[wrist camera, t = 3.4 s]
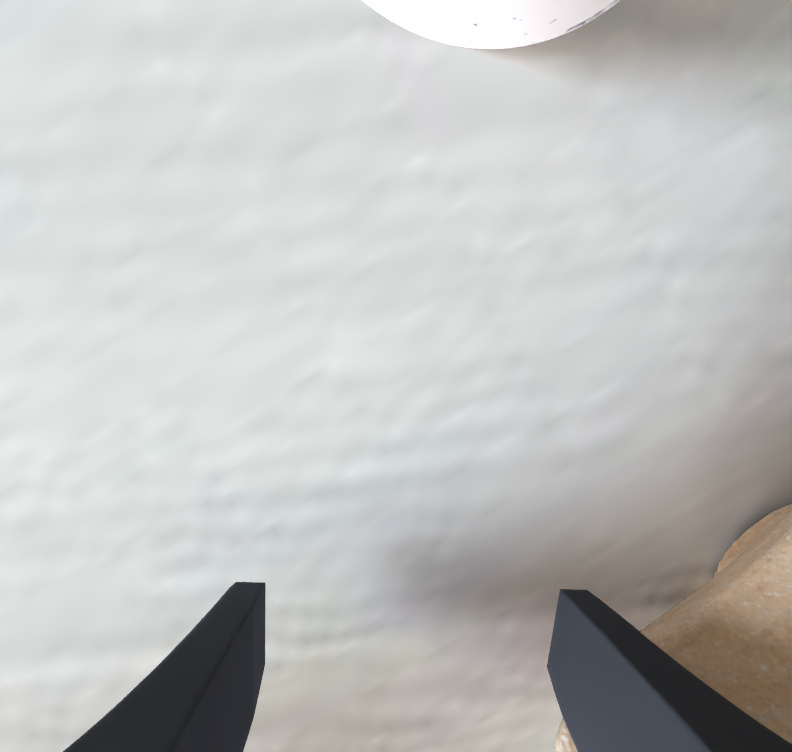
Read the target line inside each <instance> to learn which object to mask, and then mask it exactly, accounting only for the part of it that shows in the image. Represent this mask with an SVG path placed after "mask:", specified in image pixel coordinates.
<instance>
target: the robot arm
mask: <svg viewBox="0 0 792 752" xmlns="http://www.w3.org/2000/svg"><path fill="white" fill-rule="evenodd" d="M264 666H265V583H253V582H236V583H235V584H233V585H232V586H231V587H230V588H229V589H228V590H227V592H226V593H225V594H224V595H223V596H222V597H221V598H220V600H219V601H218V602H217V603H216V604H215V605H214V606H213V608H212V609H211V610H210V611H209V612H208V613H207V614H206V615H205V617H204V618H203V619H202V620H201V621H200V622H199V623H198V624H197V625H196V626H195V627H194V629H193V630H192V631H191V632H190V633H189V634H188V635H187V636H186V637H185V638H184V639H183V640H182V641H181V642H180V643H179V644H178V645H177V646H176V648H175V649H174V650H173V651H172V652H171V653H170V654H169V655H168V656H167V657H166V658H165V659H164V660H163V661H162V662H161V663H160V664H159V665H158V666H157V667H156V668H155V669H154V670H153V671H152V672H151V673H150V674H149V675H148V676H147V677H146V678H145V679H144V680H143V681H141V682H140V683H139V684H138V685H137V686H136V687H135V688H134V689H133V690H132V691H131V692H130V693H129V694H128V695H127V696H126V697H125V698H124V699H123V700H122V701H121V702H120V703H118V704H117V705H116V706H115V707H114V708H113V709H112V710H111V711H110V712H109V713H107V714H106V715H105V716H104V717H103V718H102V719H101V720H100V721H98V722H97V723H96V724H95V725H94V726H93V727H92V728H90V729H89V730H88V731H87V732H86V733H85V734H84V735H82V736H81V737H80V738H79V739H78V740H76V741H75V742H74V743H73V744H72V745H70V746H69V747H68V748H67V749H66V750H65V751H63V752H243V750H244V747H245V743H246V740H247V737H248V734H249V731H250V727H251V724H252V721H253V717H254V713H255V708H256V704H257V699H258V695H259V690H260V685H261V680H262V675H263V671H264ZM547 668H548V671H549V675H550V678H551V681H552V684H553V688H554V691H555V694H556V697H557V700H558V703H559V706H560V709H561V712H562V715H563V718H564V721H565V723H566V726H567V728H568V730H569V733H570V735H571V737H572V740H573V742H574V744H575V746H576V749H577V751H578V752H792V744H791V743H789V742H788V741H786V740H785V739H783V738H782V737H780V736H779V735H777V734H776V733H774V732H773V731H771V730H770V729H768V728H767V727H765V726H764V725H762V724H761V723H759V722H758V721H756V720H755V719H754V718H752V717H751V716H749V715H748V714H746V713H745V712H744V711H742V710H741V709H739V708H738V707H737V706H735V705H734V704H733V703H731V702H730V701H729V700H727V699H726V698H724V697H723V696H722V695H720V694H719V693H718V692H716V691H715V690H714V689H712V688H711V687H709V686H708V685H707V684H705V683H704V682H703V681H701V680H700V679H699V678H698V677H696V676H695V675H694V674H692V673H691V672H690V671H688V670H687V669H686V668H684V667H683V666H682V665H681V664H679V663H678V662H677V661H676V660H674V659H673V658H672V657H670V656H669V655H668V654H667V653H665V652H664V651H663V650H662V649H660V648H659V647H658V646H657V645H655V644H654V643H653V642H652V641H650V640H649V639H648V638H647V637H646V636H644V635H643V634H642V633H641V632H639V631H638V630H637V629H636V628H634V627H633V626H632V625H631V624H630V623H628V622H627V621H626V620H625V619H623V618H622V617H621V616H620V615H618V614H617V613H616V612H615V611H614V610H612V609H611V608H610V607H609V606H607V605H606V604H605V603H604V602H602V601H601V600H600V599H598V598H597V597H596V596H594V595H593V594H592V593H590V592H589V591H588V590H566V589H560V593H559V599H558V605H557V611H556V617H555V623H554V629H553V635H552V641H551V647H550V653H549V658H548V664H547Z"/></svg>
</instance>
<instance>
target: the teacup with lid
mask: <svg viewBox="0 0 792 752" xmlns="http://www.w3.org/2000/svg"><path fill="white" fill-rule="evenodd" d="M363 1H364V2H365V3H366V4H367V5H369V6H370V7H371V8H373V9H374V10H376V11H377V12H379V13H380V14H381V15H383V16H384V17H386V18H387V19H389V20H390V21H392V22H394V23H396V24H398V25H400V26H401V27H403V28H405V29H407V30H409V31H411V32H414V33H416V34H419V35H421V36H423V37H426V38H428V39H432V40H435V41H438V42H442V43H445V44H449V45H455V46H460V47H466V48H478V49H502V48H515V47H521V46H527V45H532V44H536V43H540V42H543V41H547V40H550V39H553V38H556V37H558V36H561V35H563V34H566V33H568V32H571V31H573V30H575V29H577V28H579V27H581V26H583V25H584V24H586V23H588V22H590V21H592V20H594V19H595V18H597V17H598V16H600V15H601V14H603V13H604V12H606V11H607V10H609V9H610V8H611V7H613V6H614V5H615V4H617V3H618V2H619V1H620V0H363Z"/></svg>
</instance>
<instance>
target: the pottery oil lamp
mask: <svg viewBox="0 0 792 752" xmlns="http://www.w3.org/2000/svg"><path fill="white" fill-rule="evenodd" d="M640 632H641V633H642V634H643V635H644V636H646V637H647V638H648V639H649V640H650V641H652V642H653V643H654V644H655V645H657V646H658V647H659V648H660V649H662V650H663V651H664V652H665V653H667V654H668V655H669V656H670V657H672V658H673V659H674V660H676V661H677V662H678V663H679V664H681V665H682V666H683V667H684V668H686V669H687V670H688V671H690V672H691V673H692V674H694V675H695V676H696V677H698V678H699V679H700V680H701V681H703V682H704V683H705V684H707V685H708V686H709V687H711V688H712V689H714V690H715V691H716V692H718V693H719V694H720V695H722V696H723V697H724V698H726V699H727V700H729V701H730V702H731V703H733V704H734V705H735V706H737V707H738V708H739V709H741V710H742V711H744V712H745V713H746V714H748V715H749V716H751V717H752V718H754V719H755V720H756V721H758V722H759V723H761V724H762V725H764V726H765V727H767V728H768V729H770V730H771V731H773V732H774V733H776V734H777V735H779V736H780V737H782V738H783V739H785V740H786V741H788V742H789V743H791V744H792V503H791V504H788V505H786V506H784V507H782V508H780V509H777V510H776V511H773V512H771V513H770V514H768V515H767V516H765V517H764V518H762V519H761V520H760V521H759V522H757V523H755V524H754V525H753V526H751V527H750V528H749V529H747V530H746V531H745V532H744V533H743V534H742V535H741V536H740V537H739V538H738V539H737V540H736V541H734V542H733V544H732V546H731V547H730V548H728V550H727V551H726V552H725V554H724V556H723V559H722V560H721V561H720V562H719V566H718V569H717V570H716V572H715V576H714V577H713V578H712V579H711V580H710V581H708V582H707V583H705V584H704V585H703V586H701V587H700V588H699V589H697V590H696V591H695V592H693V593H692V594H690V595H689V596H688V597H686V598H685V599H684V600H682V601H681V602H680V603H678V604H677V605H676V606H674V607H673V608H672V609H670V610H669V611H668V612H666V613H665V614H664V615H662V616H661V617H660V618H659V619H657V620H656V621H654V622H653V623H651V624H650V625H648V626H647V627H646V628H644V629H643V630H641V631H640ZM555 749H556V752H578V751H577V749H576V746H575V744H574V742H573V740H572V737H571V735H570V733H569V730H568V728H567V726H566V723H565V721H564V718H563V719H562V721H561V723H560V726H559V730H558V732H557V739H556V746H555Z"/></svg>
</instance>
